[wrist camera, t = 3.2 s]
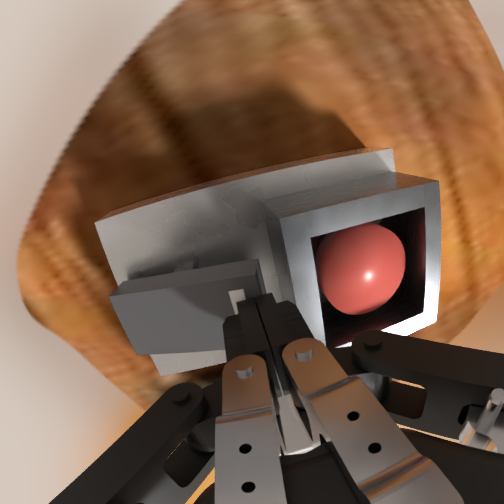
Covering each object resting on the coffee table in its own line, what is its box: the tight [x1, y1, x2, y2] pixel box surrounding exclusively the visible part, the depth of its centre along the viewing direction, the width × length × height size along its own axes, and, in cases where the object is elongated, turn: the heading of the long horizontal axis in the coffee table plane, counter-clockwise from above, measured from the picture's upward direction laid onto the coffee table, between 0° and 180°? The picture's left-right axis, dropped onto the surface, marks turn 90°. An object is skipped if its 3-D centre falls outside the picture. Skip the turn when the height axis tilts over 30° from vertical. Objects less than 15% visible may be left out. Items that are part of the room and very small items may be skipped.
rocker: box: [109, 258, 267, 355], centre depth 14 cm, size 4×7×2 cm, turn 103°
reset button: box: [314, 221, 406, 315], centre depth 14 cm, size 4×4×1 cm
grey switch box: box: [94, 147, 441, 376], centre depth 15 cm, size 10×16×7 cm, turn 103°
